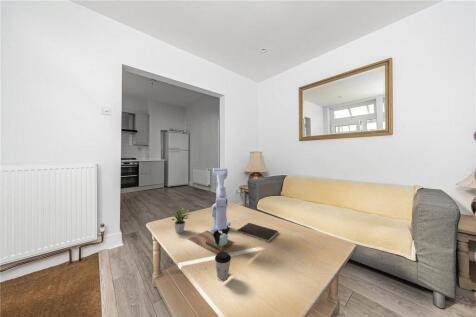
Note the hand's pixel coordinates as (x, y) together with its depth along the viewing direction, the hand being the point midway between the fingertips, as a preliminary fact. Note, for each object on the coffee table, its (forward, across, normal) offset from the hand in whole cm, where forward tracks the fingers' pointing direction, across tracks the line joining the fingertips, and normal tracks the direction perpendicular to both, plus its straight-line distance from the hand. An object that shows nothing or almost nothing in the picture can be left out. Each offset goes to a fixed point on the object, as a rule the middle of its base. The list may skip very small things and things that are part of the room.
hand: (220, 241), depth 97 cm
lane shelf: (+3, 0, +8) cm, 9 cm away
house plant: (+3, -5, +34) cm, 35 cm away
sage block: (+2, 0, 0) cm, 2 cm away
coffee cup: (+3, -17, -18) cm, 25 cm away
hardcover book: (+4, +30, -6) cm, 31 cm away
